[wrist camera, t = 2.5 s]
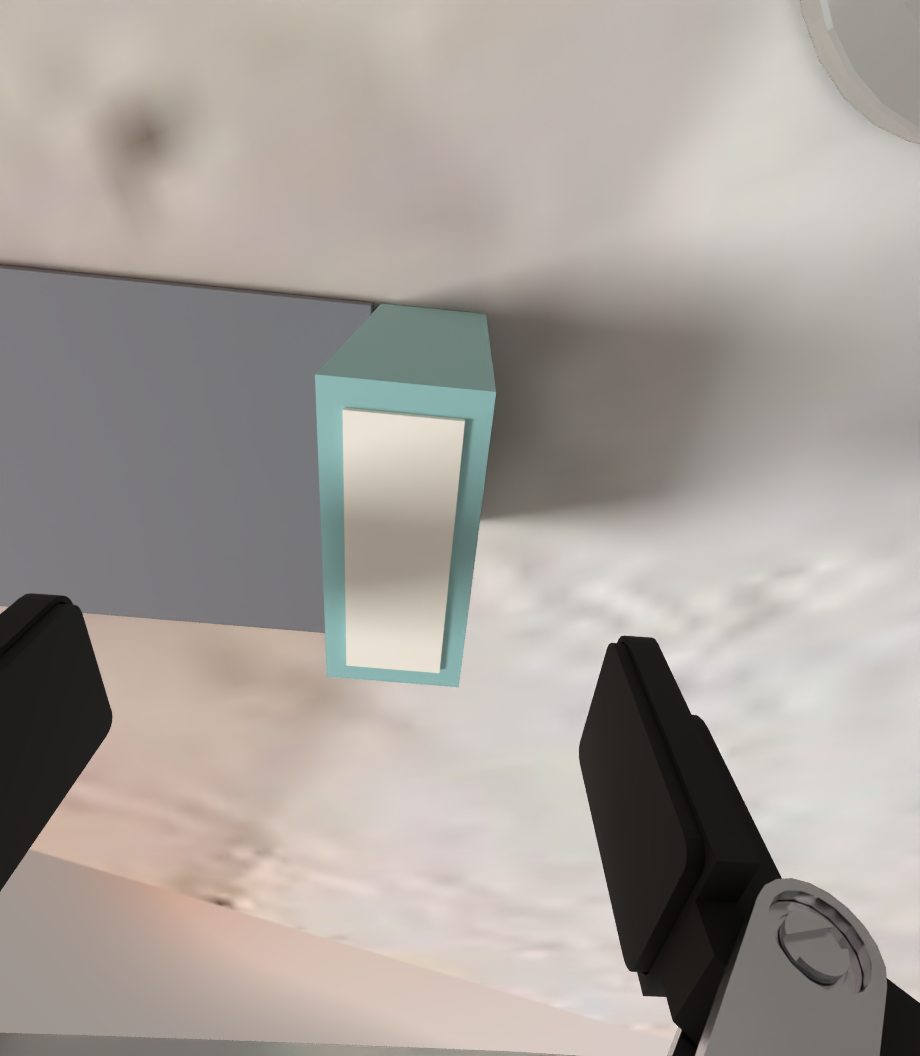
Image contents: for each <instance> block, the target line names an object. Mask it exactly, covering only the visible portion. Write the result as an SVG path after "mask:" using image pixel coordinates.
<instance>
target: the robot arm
mask: <svg viewBox="0 0 920 1056" xmlns="http://www.w3.org/2000/svg"><path fill="white" fill-rule="evenodd" d="M800 1H801V8H802V14H803V17H804V20H805V23H806V25H807V28H808V31H809V34H810V36H811V39H812V42H813V44H814V47H815V50H816V53H817V55H818V58H819V61H820V63H821V64H822V66H823V67H824V69H825V70H826V72H827V73H828V75H829V76H830V78H831V79H832V81H833V82H834V84H835V85H836V87H837V88H838V90H839V91H840V93H841V95H842V96H843V98H844V99H845V100H847V101H848V102H849V103H850V104H851V105H852V106H853V107H855V108H856V109H857V110H858V111H859V112H860V113H861V114H862V115H864V116H865V117H866V118H867V119H868V120H869V121H870V122H871V123H873V124H874V125H876V126H878V127H880V128H882V129H884V130H886V131H888V132H890V133H892V134H895V135H897V136H899V137H901V138H903V139H905V140H907V141H909V142H915V143H920V0H800ZM111 724H112V711H111V708H110V704H109V701H108V698H107V694H106V691H105V688H104V684H103V681H102V678H101V674H100V671H99V668H98V664H97V661H96V658H95V654H94V651H93V648H92V644H91V641H90V638H89V634H88V631H87V628H86V624H85V621H84V618H83V614H82V611H81V609H80V608H79V607H78V606H77V605H73V603H72V601H71V600H70V599H69V598H68V597H67V596H63V595H49V594H35V593H29V594H25V595H23V596H22V597H20V598H19V599H18V600H16V601H15V602H14V603H13V604H12V605H11V606H9V607H8V608H7V609H6V610H5V611H4V612H2V613H1V614H0V891H1V889H2V888H3V887H4V885H5V884H6V882H7V881H8V879H9V878H10V876H11V874H12V873H13V872H14V870H15V869H16V868H17V866H18V865H19V863H20V862H21V860H22V859H23V857H24V856H25V854H26V853H27V851H28V850H29V849H30V847H31V846H32V844H33V843H34V841H35V840H36V838H37V837H38V835H39V834H40V832H41V831H42V829H43V828H44V827H45V825H46V824H47V822H48V821H49V819H50V818H51V816H52V815H53V813H54V812H55V810H56V809H57V808H58V806H59V805H60V803H61V802H62V800H63V799H64V797H65V796H66V794H67V793H68V791H69V790H70V789H71V787H72V786H73V784H74V783H75V781H76V780H77V778H78V777H79V775H80V774H81V772H82V771H83V770H84V768H85V767H86V765H87V764H88V762H89V761H90V759H91V758H92V756H93V755H94V753H95V752H96V750H97V749H98V748H99V746H100V745H101V743H102V742H103V740H104V739H105V737H106V736H107V734H108V732H109V730H110V727H111ZM579 760H580V766H581V770H582V775H583V779H584V784H585V788H586V793H587V797H588V802H589V806H590V811H591V815H592V820H593V824H594V828H595V833H596V837H597V842H598V846H599V851H600V855H601V860H602V864H603V869H604V873H605V878H606V882H607V887H608V891H609V895H610V900H611V904H612V909H613V913H614V918H615V922H616V927H617V931H618V936H619V940H620V945H621V949H622V954H623V957H624V961H625V964H626V966H627V968H628V969H629V971H632V972H637V973H638V977H639V981H640V985H641V990H642V994H643V996H657V997H667V1001H668V1005H669V1009H670V1012H671V1016H672V1020H673V1022H674V1023H675V1024H676V1025H677V1026H678V1029H677V1031H676V1034H675V1037H674V1039H673V1042H672V1044H671V1047H670V1050H669V1052H668V1055H667V1056H920V1003H919V1002H918V1001H916V1000H915V999H914V998H912V997H911V996H910V995H908V994H907V993H906V992H904V991H903V990H902V989H900V988H899V987H898V986H896V985H895V984H894V983H893V982H891V981H890V980H889V979H887V978H886V967H885V964H884V962H883V959H882V956H881V954H880V951H879V949H878V946H877V945H876V943H875V942H874V940H873V938H872V937H871V935H870V934H869V932H868V931H867V929H866V928H865V926H864V925H863V924H862V923H861V922H860V921H859V919H858V918H857V917H856V916H855V915H854V914H853V913H852V912H851V911H850V910H849V909H848V908H847V907H846V906H845V905H844V904H842V903H841V902H840V901H838V900H837V899H836V898H835V897H833V896H832V895H831V894H829V893H828V892H826V891H824V890H822V889H820V888H818V887H816V886H814V885H812V884H811V883H807V882H804V881H800V880H796V879H793V878H789V879H782V878H781V876H780V874H779V872H778V870H777V868H776V866H775V864H774V862H773V860H772V858H771V856H770V854H769V852H768V849H767V847H766V845H765V843H764V841H763V839H762V837H761V835H760V833H759V831H758V829H757V827H756V825H755V823H754V821H753V819H752V817H751V815H750V813H749V811H748V809H747V807H746V805H745V803H744V801H743V799H742V797H741V795H740V792H739V790H738V788H737V786H736V784H735V782H734V780H733V778H732V776H731V774H730V772H729V770H728V768H727V766H726V764H725V762H724V760H723V758H722V756H721V754H720V752H719V750H718V748H717V746H716V744H715V742H714V740H713V738H712V736H711V733H710V731H709V729H708V727H707V726H706V724H705V723H704V721H703V720H702V719H701V718H700V717H698V716H697V715H691V713H690V711H689V708H688V706H687V704H686V702H685V700H684V698H683V696H682V694H681V691H680V689H679V687H678V685H677V683H676V681H675V679H674V677H673V675H672V672H671V670H670V668H669V666H668V664H667V662H666V660H665V658H664V655H663V653H662V651H661V649H660V647H659V645H658V643H657V641H656V640H655V639H654V638H649V637H635V636H621V637H620V638H619V640H618V642H617V643H610V644H609V645H608V648H607V651H606V654H605V658H604V661H603V665H602V668H601V672H600V675H599V678H598V682H597V685H596V689H595V692H594V696H593V699H592V703H591V706H590V710H589V713H588V716H587V720H586V723H585V727H584V730H583V734H582V737H581V741H580V745H579ZM0 1056H575V1055H558V1054H542V1053H526V1052H509V1051H485V1050H460V1049H435V1048H412V1047H411V1048H410V1047H387V1046H363V1045H337V1044H313V1043H285V1042H258V1041H229V1040H202V1039H172V1038H145V1037H116V1036H87V1035H54V1034H22V1033H20V1034H19V1033H0Z"/></svg>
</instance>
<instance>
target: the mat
mask: <svg viewBox="0 0 920 1056" xmlns="http://www.w3.org/2000/svg"><path fill="white" fill-rule="evenodd" d="M373 310H374V303H371V302H361V301H351V300H341V299H331V298H321V297H311V296H302V295H292V294H282V293H272V292H262V291H252V290H242V289H233V288H223V287H213V286H203V285H193V284H183V283H173V282H163V281H154V280H144V279H134V278H124V277H114V276H104V275H94V274H85V273H75V272H65V271H55V270H45V269H35V268H25V267H16V266H6V265H0V606H6V607H9V606H11V605H12V604H13V603H14V602H15V601H16V600H18V599H19V598H20V597H22V596H23V595H25V594H29V593H35V594H49V595H63V596H67V597H68V598H69V599H70V600H71V601H72V603H73V605H77V606H78V607H79V608H80V609H81V611H82V613H91V614H103V615H115V616H127V617H139V618H151V619H163V620H175V621H187V622H199V623H211V624H223V625H235V626H248V627H260V628H272V629H284V630H296V631H308V632H320V633H325V616H324V591H323V566H322V540H321V515H320V490H319V465H318V440H317V415H316V390H315V374H316V373H317V372H318V371H319V369H320V368H321V367H322V366H323V365H324V364H325V363H326V362H327V361H328V360H329V359H330V358H331V357H332V356H333V354H334V353H335V352H336V351H337V350H338V349H339V348H340V347H341V346H342V345H343V344H344V343H345V342H346V341H347V340H348V338H349V337H350V336H351V335H352V334H353V333H354V332H355V331H356V330H357V329H358V328H359V327H360V326H361V325H362V323H363V322H364V321H365V320H366V319H367V318H368V317H369V316H370V315H371V314H372V313H373Z"/></svg>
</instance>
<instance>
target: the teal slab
mask: <svg viewBox="0 0 920 1056" xmlns="http://www.w3.org/2000/svg"><path fill="white" fill-rule="evenodd" d="M315 390H316V415H317V440H318V465H319V490H320V515H321V540H322V566H323V591H324V616H325V641H326V666H327V677H339V678H351V679H363V680H376V681H388V682H401V683H413V684H425V685H438V686H450V687H459V680H460V672H461V665H462V657H463V649H464V641H465V633H466V625H467V617H468V610H469V602H470V594H471V586H472V578H473V570H474V562H475V555H476V547H477V539H478V531H479V523H480V515H481V507H482V500H483V492H484V484H485V476H486V468H487V460H488V452H489V445H490V437H491V429H492V421H493V413H494V405H495V398H496V387H495V379H494V371H493V364H492V356H491V348H490V341H489V333H488V325H487V317H486V314H482V313H472V312H462V311H452V310H442V309H432V308H422V307H413V306H403V305H393V304H383V303H381V304H380V305H379V306H378V307H377V309H376V310H375V311H374V312H373V313H372V314H371V315H370V316H369V317H368V318H367V319H366V320H365V321H364V322H363V323H362V325H361V326H360V327H359V328H358V329H357V330H356V331H355V332H354V333H353V334H352V335H351V336H350V337H349V338H348V340H347V341H346V342H345V343H344V344H343V345H342V346H341V347H340V348H339V349H338V350H337V351H336V352H335V353H334V354H333V356H332V357H331V358H330V359H329V360H328V361H327V362H326V363H325V364H324V365H323V366H322V367H321V368H320V369H319V371H318V372H317V373H316V374H315Z"/></svg>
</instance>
